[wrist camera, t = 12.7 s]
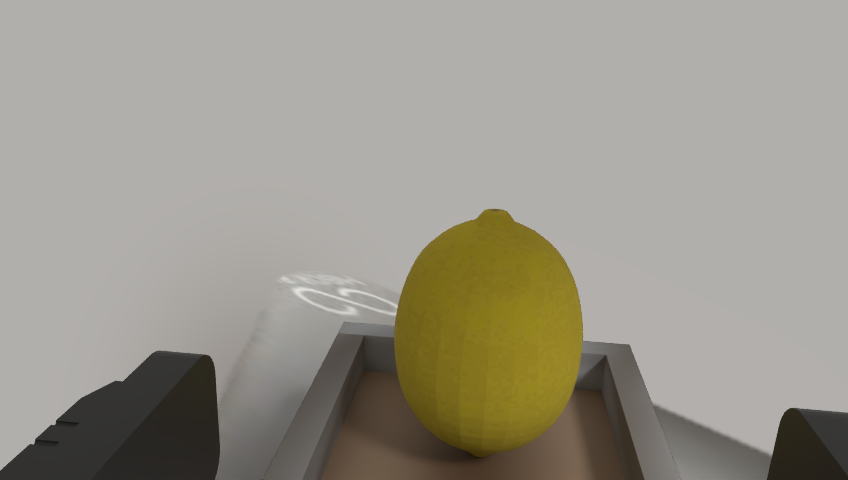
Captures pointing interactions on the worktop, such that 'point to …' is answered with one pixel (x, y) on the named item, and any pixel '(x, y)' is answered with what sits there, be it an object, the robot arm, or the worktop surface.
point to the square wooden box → (452, 467)
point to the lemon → (488, 335)
